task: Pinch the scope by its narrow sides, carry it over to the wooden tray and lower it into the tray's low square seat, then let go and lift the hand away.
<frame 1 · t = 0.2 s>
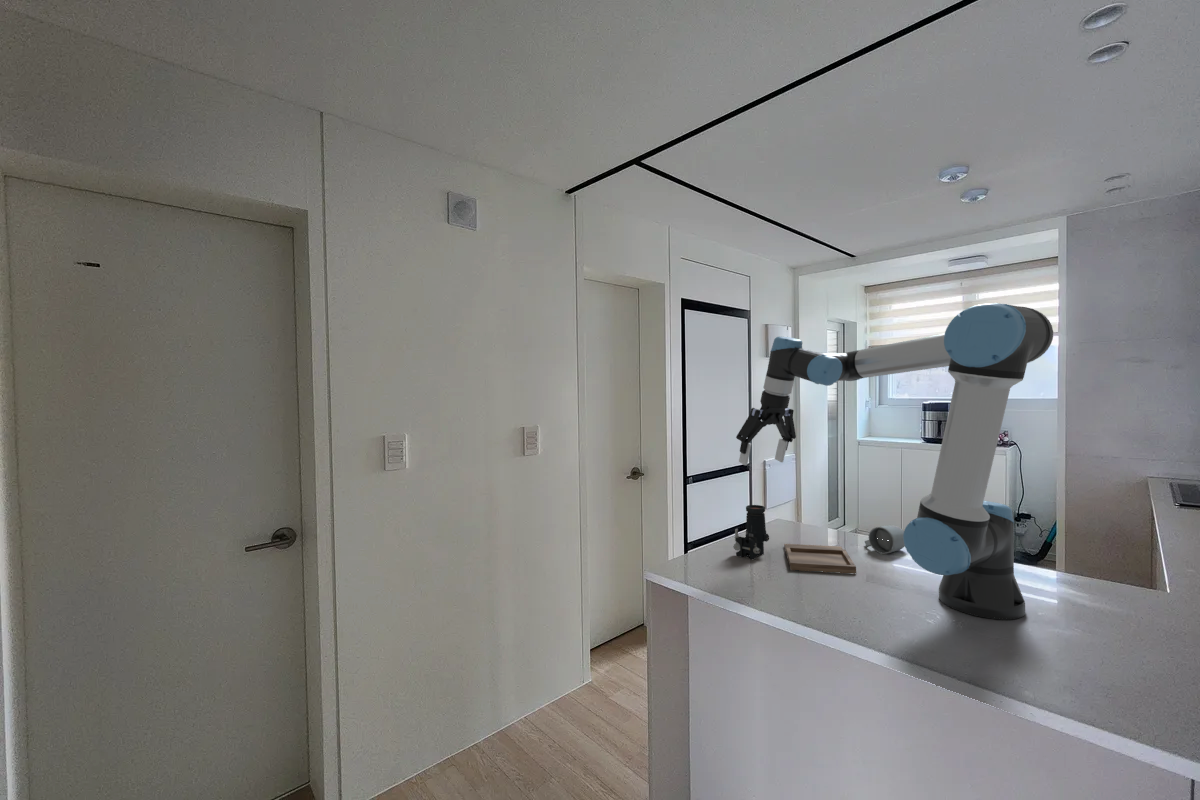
hand: (761, 462, 144), 28 cm above the countertop, tool tilted 15°, fingers open, 13 cm apart
scope: (754, 554, 147), on the countertop
ceramic mug: (883, 550, 147), on the countertop
wooden tray: (818, 563, 138), on the countertop
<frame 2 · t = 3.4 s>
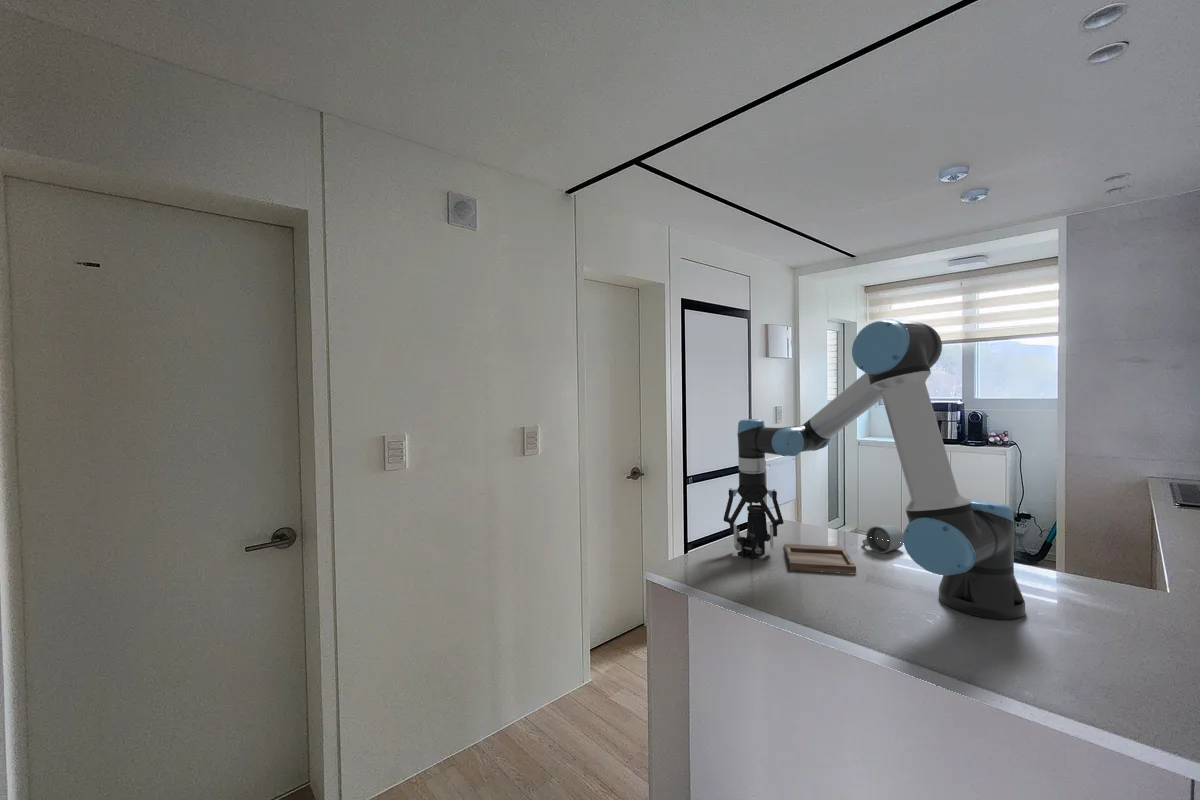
hand: (753, 546, 147), 2 cm above the countertop, tool pointing down, fingers closed on scope, 10 cm apart
scope: (755, 554, 147), on the countertop, touching gripper
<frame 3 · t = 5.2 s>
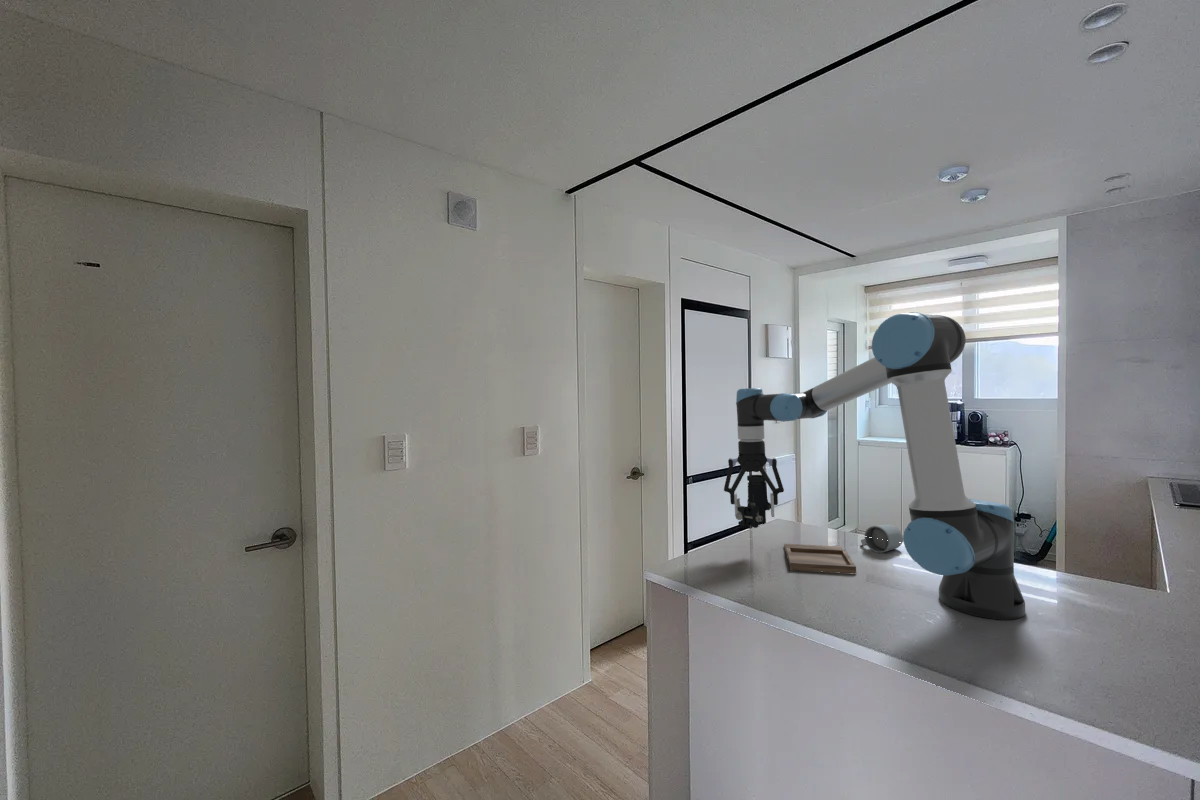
hand: (754, 515, 146), 12 cm above the countertop, tool pointing down, fingers closed on scope, 10 cm apart
scope: (756, 524, 146), point 9 cm above the countertop, touching gripper
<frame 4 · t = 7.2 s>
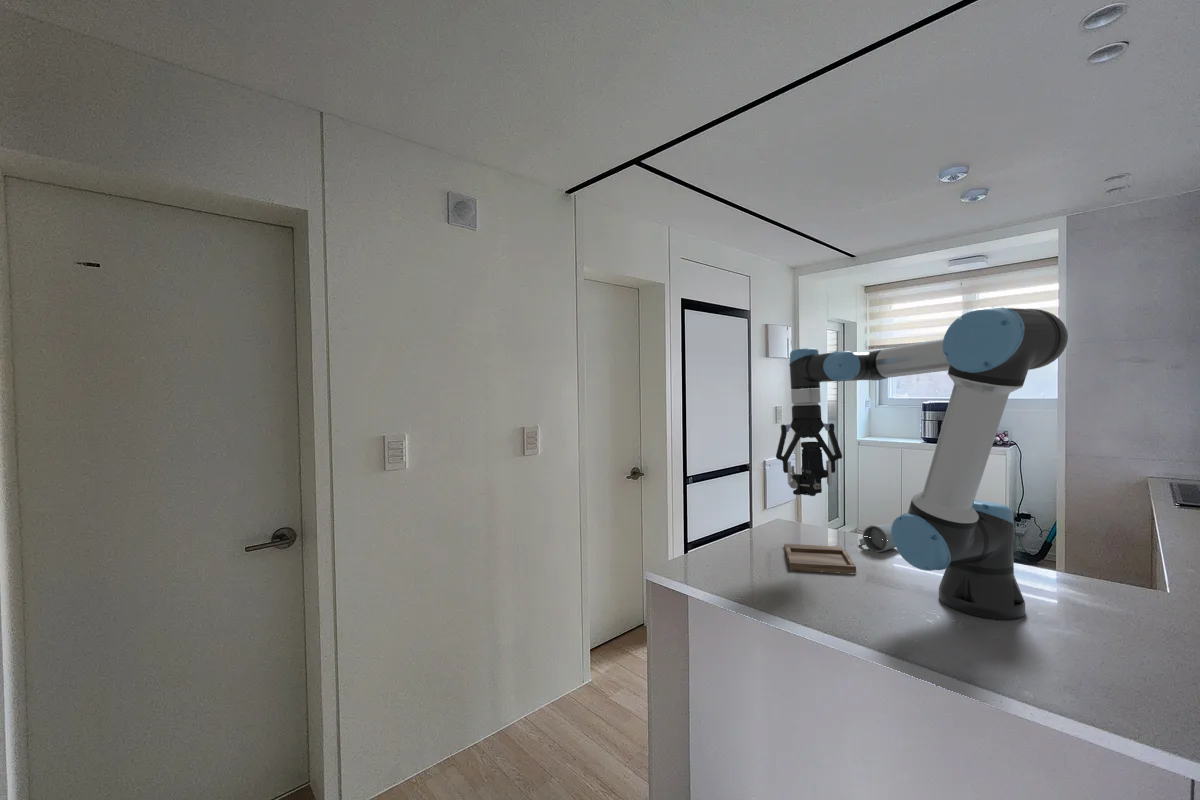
hand: (809, 484, 138), 22 cm above the countertop, tool pointing down, fingers closed on scope, 10 cm apart
scope: (812, 493, 138), point 20 cm above the countertop, touching gripper
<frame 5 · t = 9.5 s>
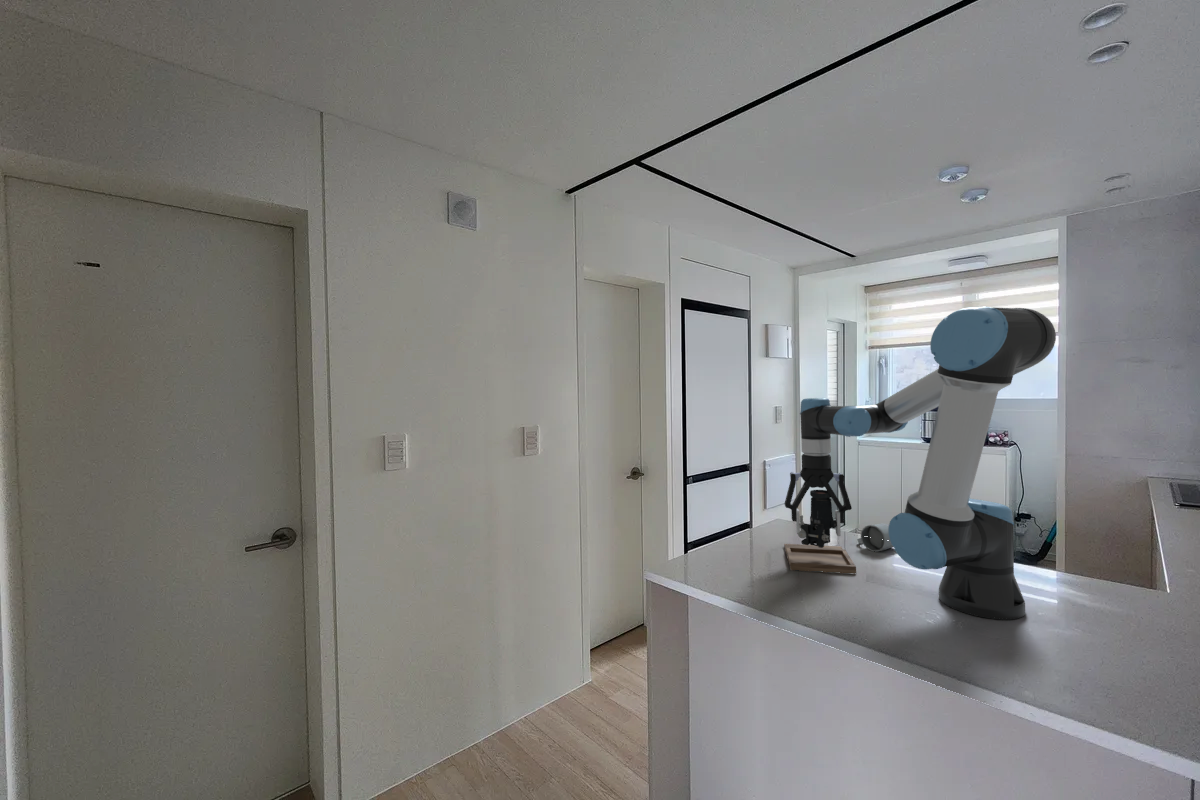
hand: (817, 533, 137), 8 cm above the countertop, tool pointing down, fingers closed on scope, 10 cm apart
scope: (820, 542, 137), point 6 cm above the countertop, touching gripper
when the fingers open (5 cm above the countertop, at t = 11.1 s): scope drops 1 cm, resting on wooden tray.
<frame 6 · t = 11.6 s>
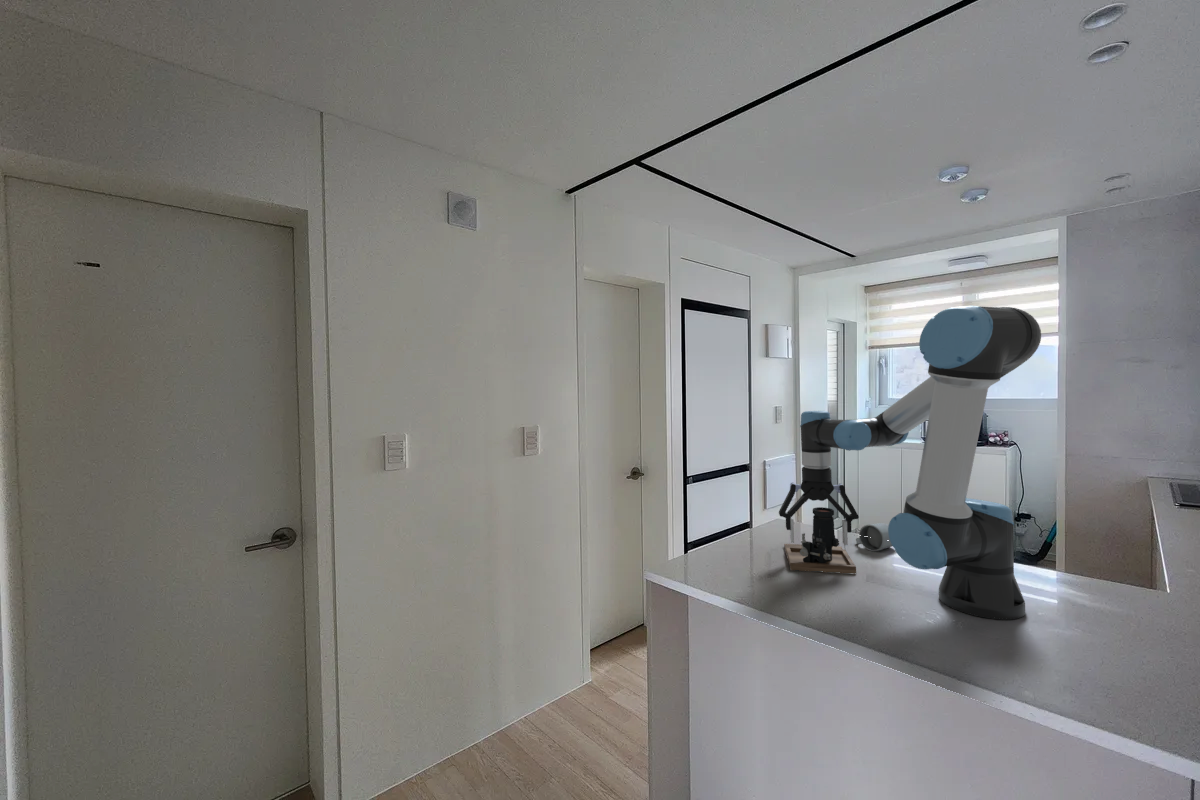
hand: (818, 542, 137), 6 cm above the countertop, tool pointing down, fingers open, 13 cm apart
scope: (822, 560, 137), point 1 cm above the countertop, touching wooden tray
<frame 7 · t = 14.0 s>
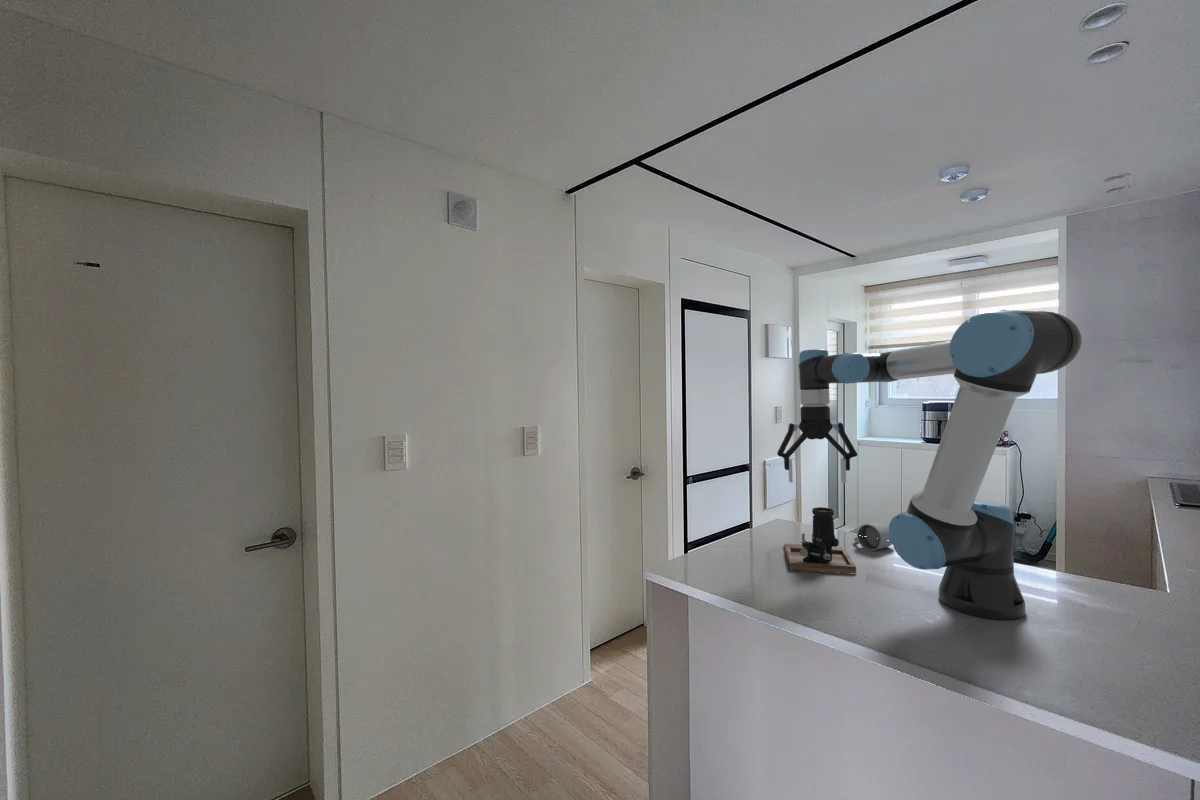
hand: (816, 482, 137), 23 cm above the countertop, tool pointing down, fingers open, 13 cm apart
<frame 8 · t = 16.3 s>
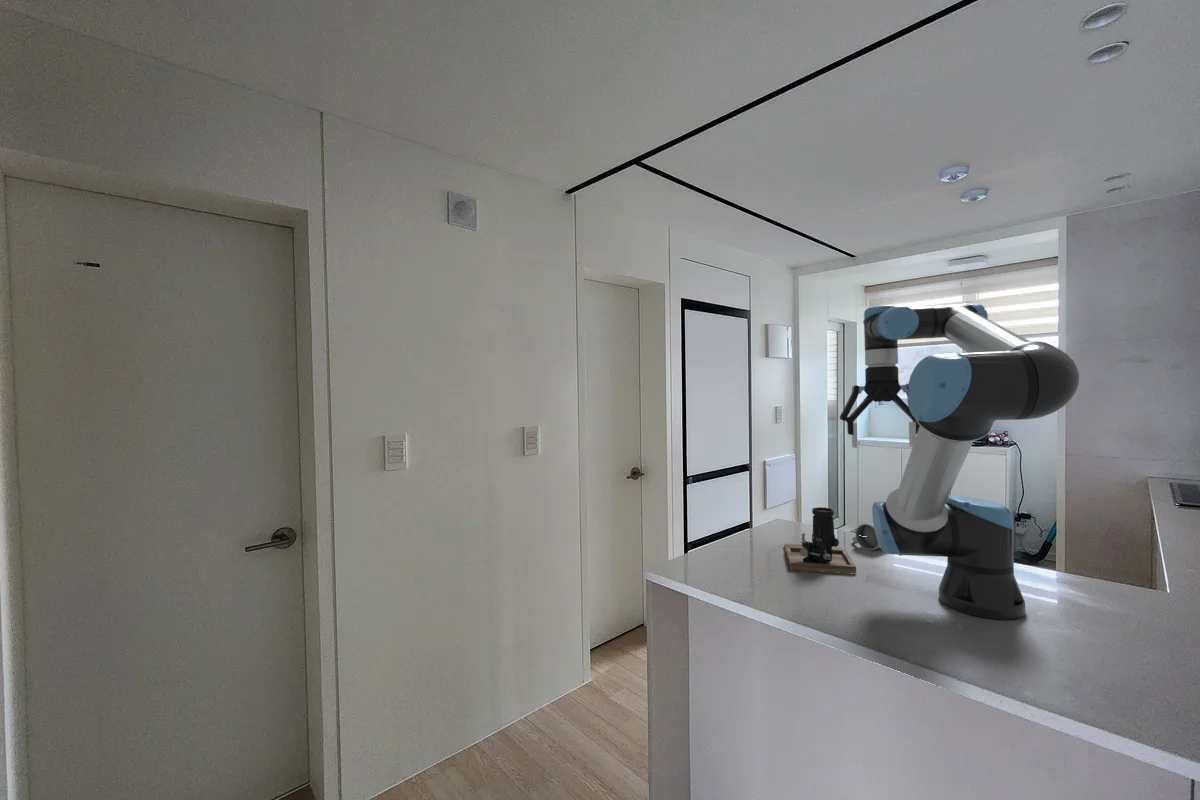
hand: (883, 447, 130), 33 cm above the countertop, tool pointing down, fingers open, 13 cm apart
at the end: scope 0.8 cm off-centre on the wooden tray, point 0.8 cm above the wooden tray's base; scope tilted 0°; the gripper is holding nothing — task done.
